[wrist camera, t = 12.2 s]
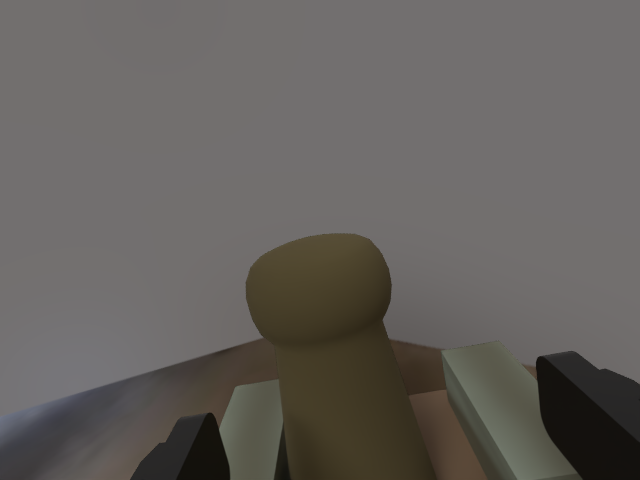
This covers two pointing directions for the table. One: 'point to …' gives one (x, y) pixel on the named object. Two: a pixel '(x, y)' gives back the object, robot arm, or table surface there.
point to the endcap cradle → (425, 424)
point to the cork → (336, 361)
